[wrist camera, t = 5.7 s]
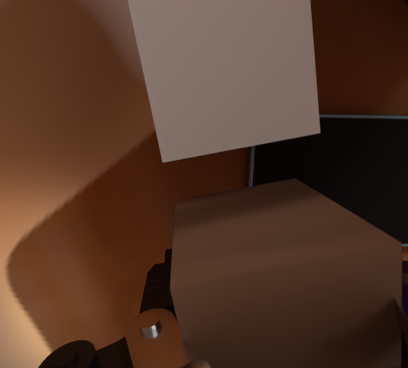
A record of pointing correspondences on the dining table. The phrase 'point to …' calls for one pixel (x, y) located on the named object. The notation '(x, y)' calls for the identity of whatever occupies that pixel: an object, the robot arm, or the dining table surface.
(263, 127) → the grey block
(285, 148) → the smartphone
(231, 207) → the walnut block
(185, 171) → the dining table surface
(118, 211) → the dining table surface
